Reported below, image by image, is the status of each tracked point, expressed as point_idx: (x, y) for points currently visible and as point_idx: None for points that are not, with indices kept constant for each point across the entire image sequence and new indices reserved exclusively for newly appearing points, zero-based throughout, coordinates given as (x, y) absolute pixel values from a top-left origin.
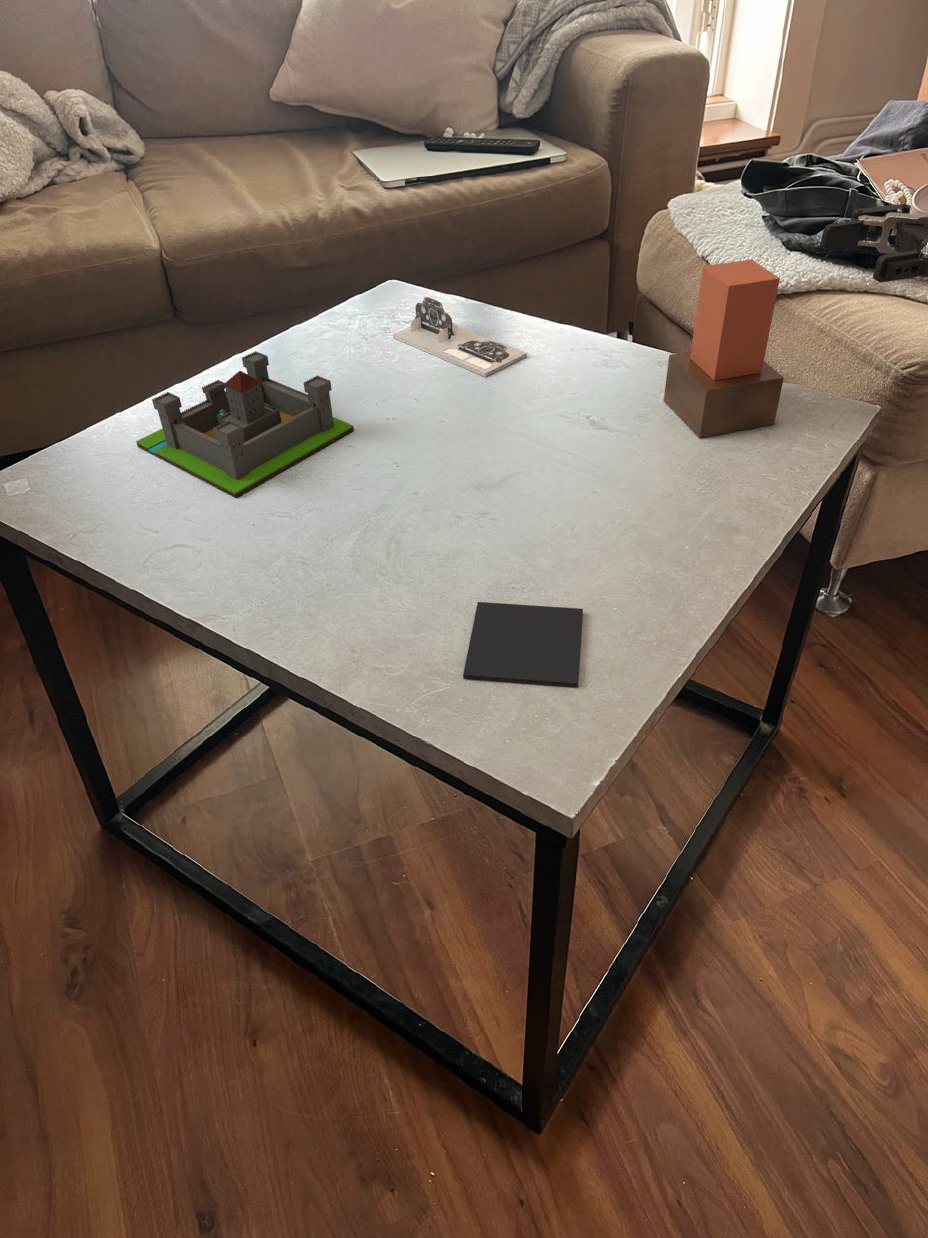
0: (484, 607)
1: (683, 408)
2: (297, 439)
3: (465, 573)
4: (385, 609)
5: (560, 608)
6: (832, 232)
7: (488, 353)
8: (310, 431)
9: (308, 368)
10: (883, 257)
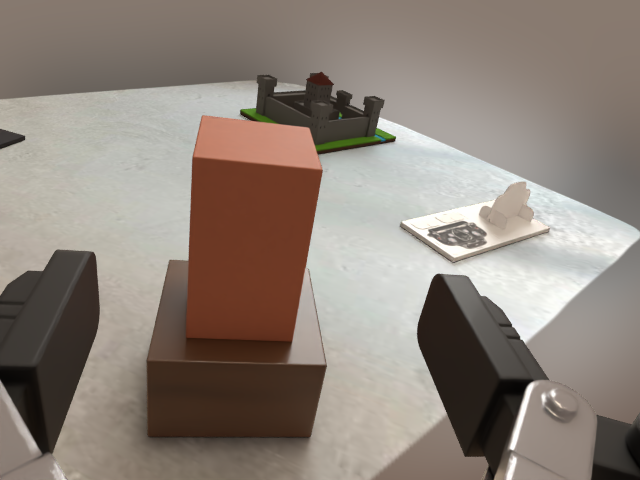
0: (14, 135)
1: None
2: None
3: (69, 145)
4: (65, 120)
5: None
6: (438, 299)
7: (451, 234)
8: None
9: (429, 161)
10: (72, 251)
